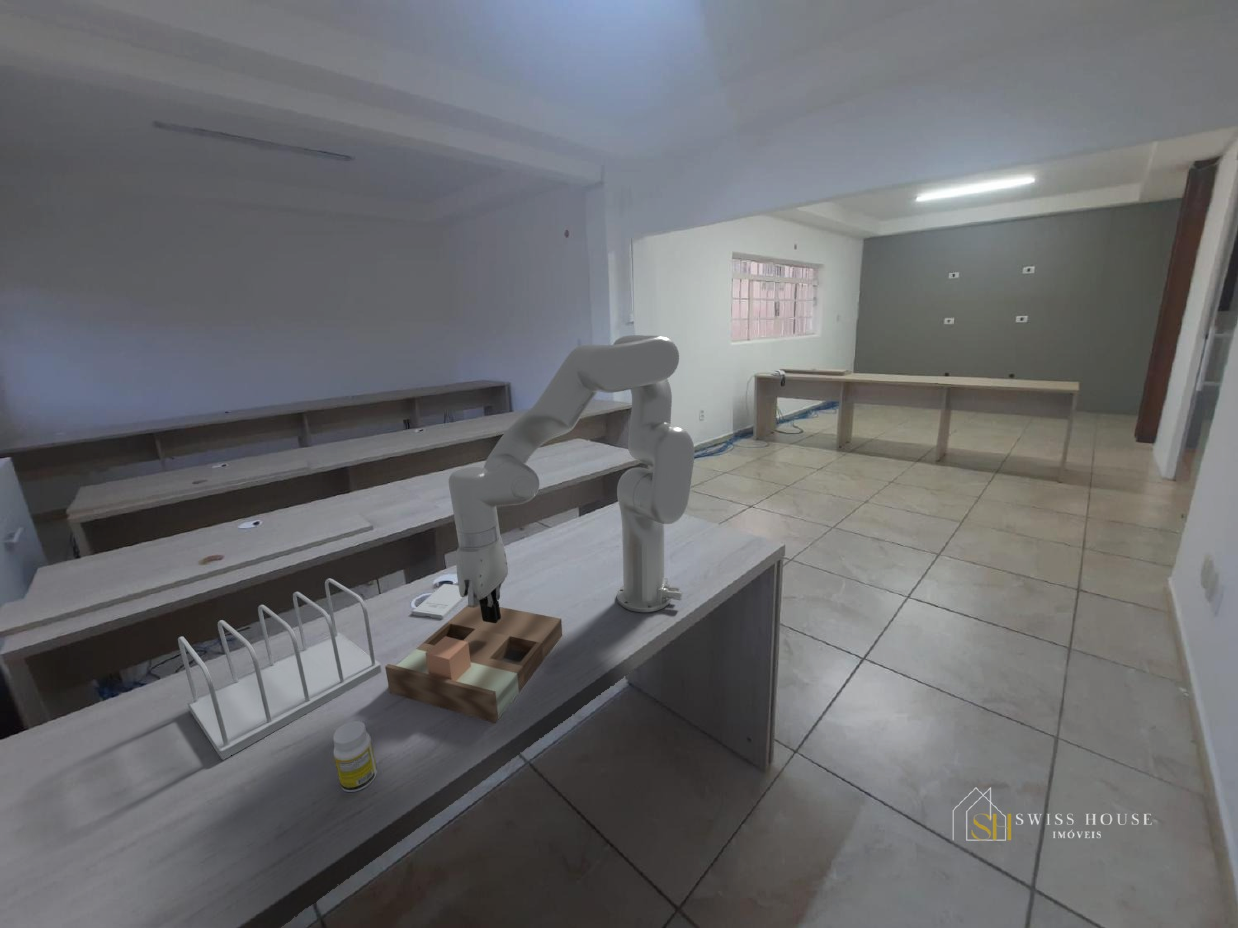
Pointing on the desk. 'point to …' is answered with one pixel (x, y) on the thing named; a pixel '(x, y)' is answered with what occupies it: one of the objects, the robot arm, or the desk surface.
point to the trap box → (480, 662)
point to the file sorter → (278, 681)
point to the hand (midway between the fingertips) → (491, 619)
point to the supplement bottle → (354, 756)
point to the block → (448, 658)
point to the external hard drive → (440, 602)
